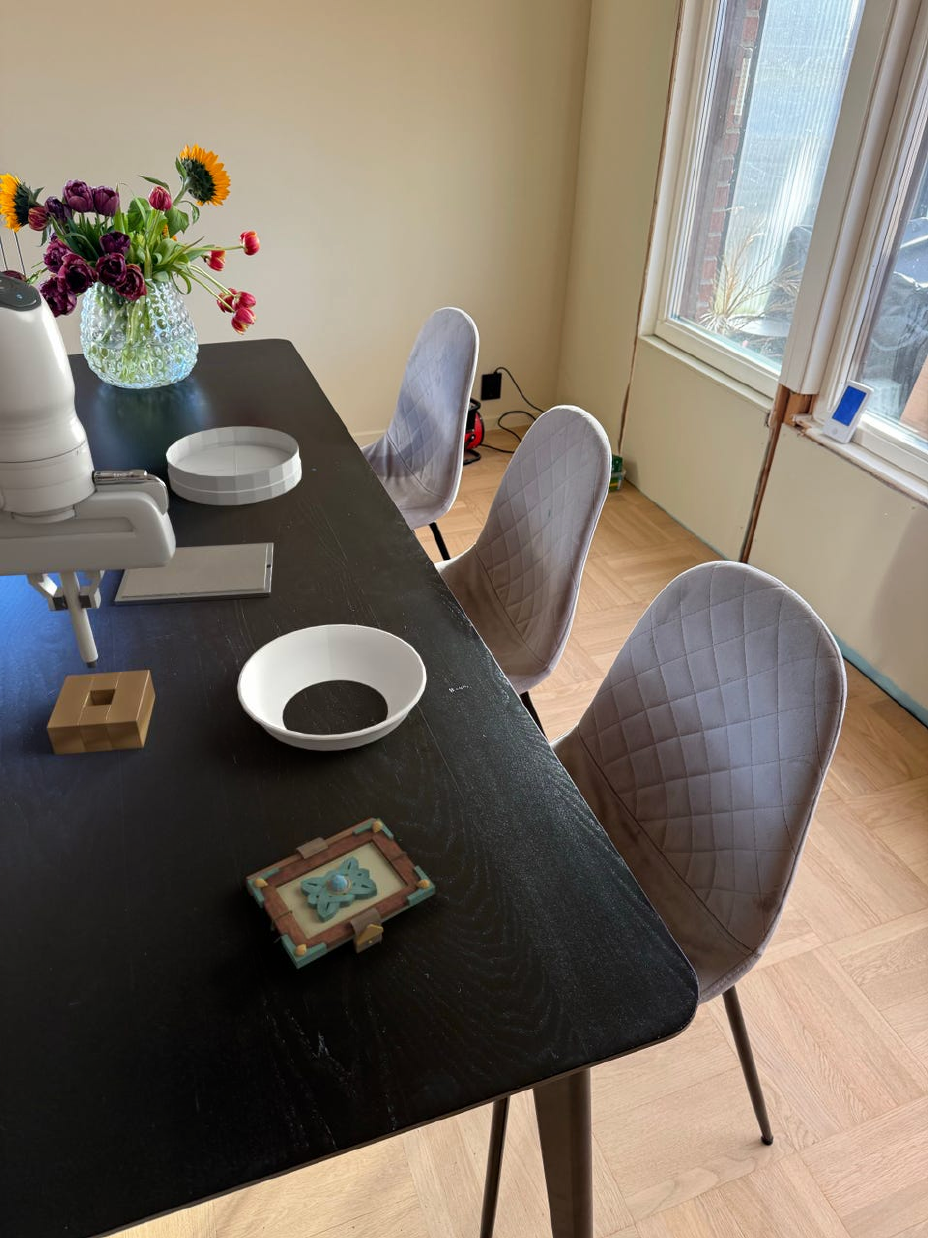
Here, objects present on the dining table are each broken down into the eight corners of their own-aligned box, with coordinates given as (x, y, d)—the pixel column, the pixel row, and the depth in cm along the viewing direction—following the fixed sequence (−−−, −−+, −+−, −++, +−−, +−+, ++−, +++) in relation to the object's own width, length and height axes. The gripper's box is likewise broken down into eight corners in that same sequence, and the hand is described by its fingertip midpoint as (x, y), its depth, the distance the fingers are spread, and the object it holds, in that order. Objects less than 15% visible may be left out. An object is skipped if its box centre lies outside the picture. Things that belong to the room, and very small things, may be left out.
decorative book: (191, 926, 72) (181, 886, 69) (373, 836, 80) (371, 798, 78) (256, 1054, 63) (248, 1015, 60) (453, 938, 71) (455, 899, 69)
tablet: (115, 606, 112) (113, 599, 112) (133, 554, 124) (131, 548, 123) (270, 597, 115) (269, 590, 114) (273, 547, 127) (273, 541, 126)
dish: (166, 510, 136) (161, 481, 133) (172, 456, 154) (167, 430, 151) (307, 499, 140) (305, 470, 138) (297, 448, 158) (294, 422, 155)
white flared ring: (243, 797, 84) (235, 749, 81) (244, 677, 100) (237, 632, 97) (441, 772, 88) (442, 724, 84) (411, 660, 104) (411, 616, 100)
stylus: (83, 671, 86) (53, 567, 79) (86, 662, 87) (57, 559, 80) (98, 670, 86) (71, 566, 79) (101, 661, 87) (74, 558, 80)
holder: (58, 765, 87) (46, 727, 85) (76, 711, 94) (66, 675, 92) (145, 757, 88) (136, 720, 86) (157, 705, 96) (149, 669, 93)
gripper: (167, 455, 79) (190, 583, 87) (-71, 464, 76) (-25, 596, 84) (158, 483, 74) (183, 617, 81) (-98, 494, 71) (-47, 632, 78)
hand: (76, 606), depth 82 cm, fingers closed on stylus, 1 cm apart
